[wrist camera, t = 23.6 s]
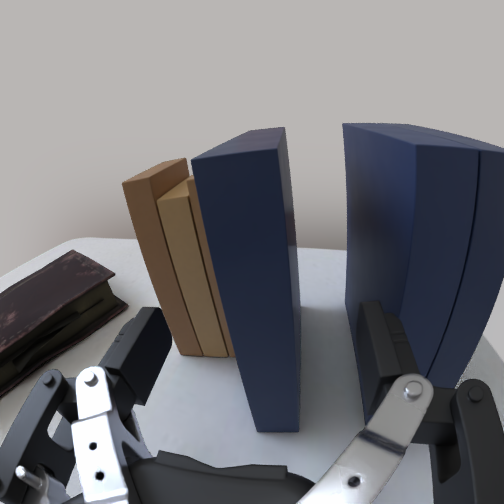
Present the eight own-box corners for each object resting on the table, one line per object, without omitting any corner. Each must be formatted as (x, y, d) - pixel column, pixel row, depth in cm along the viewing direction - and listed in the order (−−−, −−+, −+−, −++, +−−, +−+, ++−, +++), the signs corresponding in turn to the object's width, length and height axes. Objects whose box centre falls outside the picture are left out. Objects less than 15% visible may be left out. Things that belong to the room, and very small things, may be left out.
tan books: (263, 306, 29) (239, 149, 22) (255, 357, 23) (219, 164, 16) (200, 307, 30) (163, 161, 23) (180, 355, 24) (121, 182, 17)
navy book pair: (397, 297, 26) (407, 124, 19) (439, 412, 14) (525, 156, 6) (344, 302, 27) (342, 123, 20) (365, 426, 15) (415, 144, 7)
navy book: (300, 305, 28) (284, 126, 20) (298, 432, 16) (277, 148, 8) (272, 306, 29) (249, 130, 21) (256, 431, 16) (189, 159, 9)
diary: (-28, 344, 25) (-44, 319, 23) (81, 273, 42) (71, 246, 40) (-20, 419, 14) (-49, 387, 12) (133, 310, 31) (117, 273, 29)
